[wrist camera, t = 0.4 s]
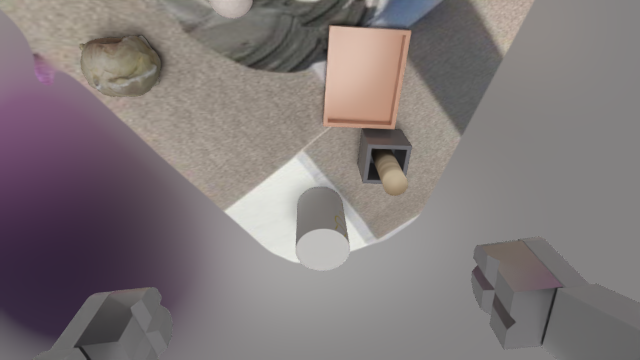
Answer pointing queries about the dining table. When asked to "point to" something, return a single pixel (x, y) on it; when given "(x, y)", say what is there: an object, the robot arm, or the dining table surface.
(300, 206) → the grey patterned cylinder
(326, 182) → the dining table surface
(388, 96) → the tray
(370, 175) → the holder
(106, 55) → the olive grey rounded lump
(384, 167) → the dowel
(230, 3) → the egg
